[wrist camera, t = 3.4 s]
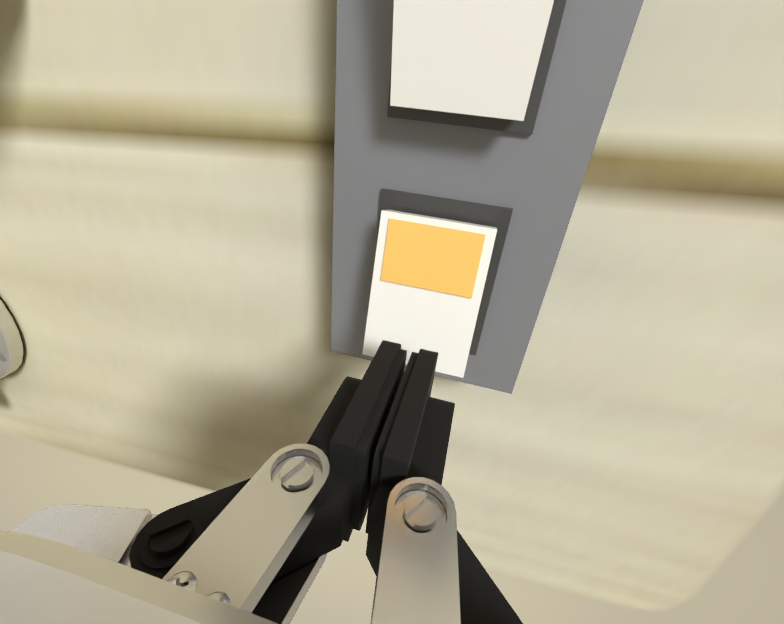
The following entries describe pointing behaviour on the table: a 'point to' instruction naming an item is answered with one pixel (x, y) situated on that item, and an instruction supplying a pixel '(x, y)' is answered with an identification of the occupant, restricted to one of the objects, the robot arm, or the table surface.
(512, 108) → the middle rocker
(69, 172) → the table surface
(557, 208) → the power strip
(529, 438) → the table surface
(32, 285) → the table surface
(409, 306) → the plate
